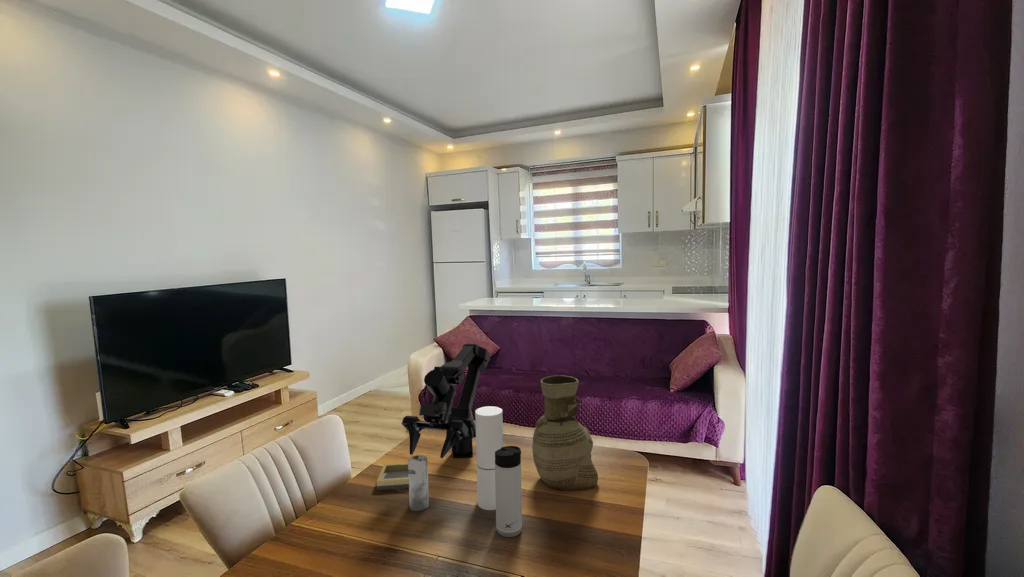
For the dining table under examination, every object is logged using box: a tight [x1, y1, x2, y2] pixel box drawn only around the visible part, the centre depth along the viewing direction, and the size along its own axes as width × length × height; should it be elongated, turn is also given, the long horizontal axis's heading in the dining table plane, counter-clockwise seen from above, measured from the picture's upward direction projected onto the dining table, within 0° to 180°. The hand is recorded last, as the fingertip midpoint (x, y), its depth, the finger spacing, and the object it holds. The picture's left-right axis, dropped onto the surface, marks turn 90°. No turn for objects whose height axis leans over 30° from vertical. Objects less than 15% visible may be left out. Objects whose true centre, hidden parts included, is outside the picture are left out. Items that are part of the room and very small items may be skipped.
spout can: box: [407, 454, 430, 512], centre depth 110 cm, size 7×5×12 cm
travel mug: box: [495, 445, 523, 538], centre depth 100 cm, size 6×7×20 cm
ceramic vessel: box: [531, 374, 599, 491], centre depth 123 cm, size 19×21×30 cm
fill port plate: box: [376, 462, 409, 491], centre depth 124 cm, size 10×10×3 cm
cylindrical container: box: [474, 405, 504, 511], centre depth 111 cm, size 7×7×25 cm
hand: (425, 456), depth 115 cm, fingers open, 9 cm apart
